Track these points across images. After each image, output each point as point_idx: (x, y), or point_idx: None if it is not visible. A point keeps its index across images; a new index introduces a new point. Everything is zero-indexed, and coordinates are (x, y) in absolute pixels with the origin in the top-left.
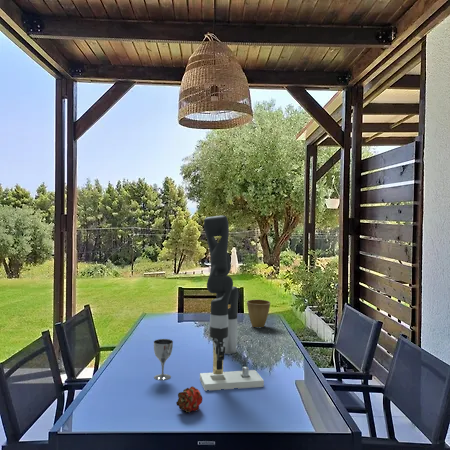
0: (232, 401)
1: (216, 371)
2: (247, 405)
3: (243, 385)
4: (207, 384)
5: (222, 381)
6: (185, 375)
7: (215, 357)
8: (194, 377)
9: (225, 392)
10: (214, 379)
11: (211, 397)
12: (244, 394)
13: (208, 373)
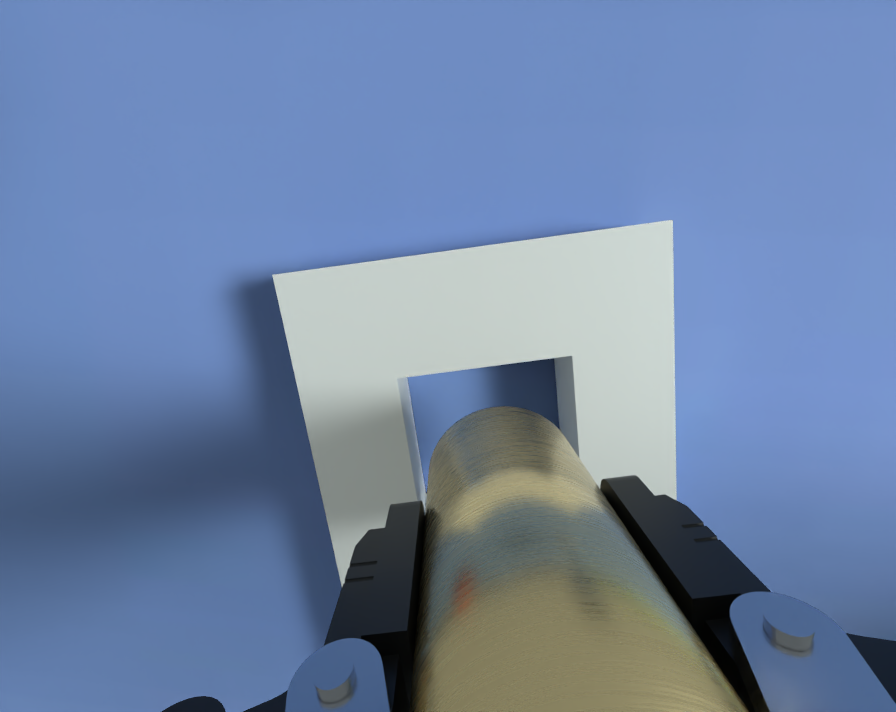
0: (78, 514)
1: (431, 472)
2: (19, 616)
3: None
4: (283, 308)
5: (370, 488)
6: (798, 34)
7: (443, 657)
8: (707, 161)
9: (272, 473)
10: (560, 395)
11: (140, 335)
12: (238, 620)
13: (650, 339)
